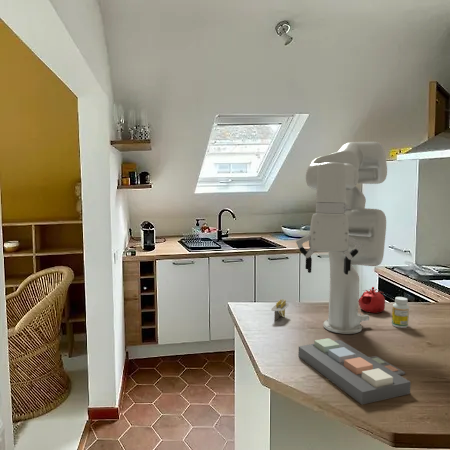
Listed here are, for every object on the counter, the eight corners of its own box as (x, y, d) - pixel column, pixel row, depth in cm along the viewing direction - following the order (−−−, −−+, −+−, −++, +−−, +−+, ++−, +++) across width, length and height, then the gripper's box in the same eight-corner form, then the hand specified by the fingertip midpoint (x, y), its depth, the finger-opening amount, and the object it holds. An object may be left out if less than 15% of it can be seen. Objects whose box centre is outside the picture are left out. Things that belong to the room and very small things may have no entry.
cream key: (377, 378, 110) (378, 368, 109) (392, 387, 105) (393, 377, 105) (361, 382, 108) (361, 371, 107) (375, 391, 103) (375, 380, 103)
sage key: (328, 347, 129) (329, 338, 129) (339, 353, 124) (339, 344, 124) (314, 349, 127) (314, 340, 127) (323, 356, 122) (324, 346, 122)
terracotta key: (359, 366, 116) (360, 357, 116) (372, 375, 111) (373, 364, 111) (343, 369, 114) (344, 359, 114) (356, 378, 110) (356, 368, 109)
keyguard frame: (339, 349, 132) (339, 339, 131) (409, 393, 106) (410, 381, 105) (298, 356, 127) (298, 346, 126) (361, 404, 101) (362, 392, 100)
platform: (303, 314, 165) (303, 297, 164) (289, 330, 148) (289, 311, 148) (272, 310, 170) (272, 293, 169) (255, 324, 153) (256, 306, 153)
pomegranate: (379, 306, 174) (380, 283, 173) (389, 314, 164) (391, 290, 163) (354, 306, 174) (355, 283, 172) (363, 314, 164) (364, 290, 163)
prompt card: (376, 357, 126) (376, 355, 126) (405, 374, 116) (405, 371, 116) (362, 360, 124) (362, 357, 124) (389, 377, 114) (389, 374, 114)
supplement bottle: (405, 329, 149) (406, 301, 148) (389, 325, 152) (390, 298, 151) (410, 325, 153) (412, 298, 152) (394, 321, 156) (396, 295, 155)
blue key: (343, 356, 122) (343, 347, 122) (354, 363, 118) (355, 354, 117) (328, 359, 121) (328, 349, 120) (339, 366, 116) (339, 356, 116)
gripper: (360, 209, 121) (357, 271, 122) (296, 207, 122) (294, 268, 124) (366, 211, 113) (363, 277, 115) (298, 209, 115) (295, 274, 117)
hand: (327, 272), depth 119 cm, fingers open, 9 cm apart
